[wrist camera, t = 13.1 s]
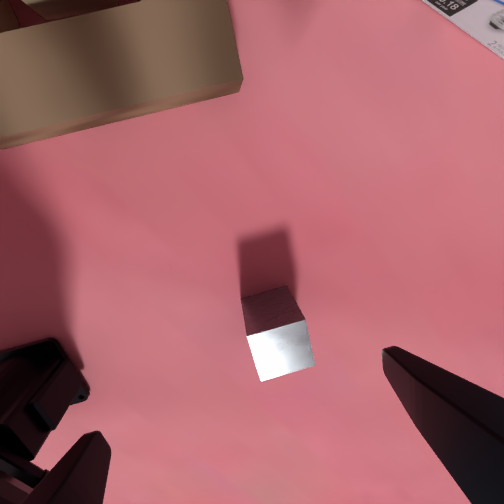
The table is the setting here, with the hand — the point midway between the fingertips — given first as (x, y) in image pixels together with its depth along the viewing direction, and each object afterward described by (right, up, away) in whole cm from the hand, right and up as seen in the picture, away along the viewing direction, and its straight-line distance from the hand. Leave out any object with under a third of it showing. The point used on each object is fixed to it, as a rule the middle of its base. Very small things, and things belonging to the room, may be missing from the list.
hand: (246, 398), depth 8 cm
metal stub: (+2, -1, +14) cm, 15 cm away
